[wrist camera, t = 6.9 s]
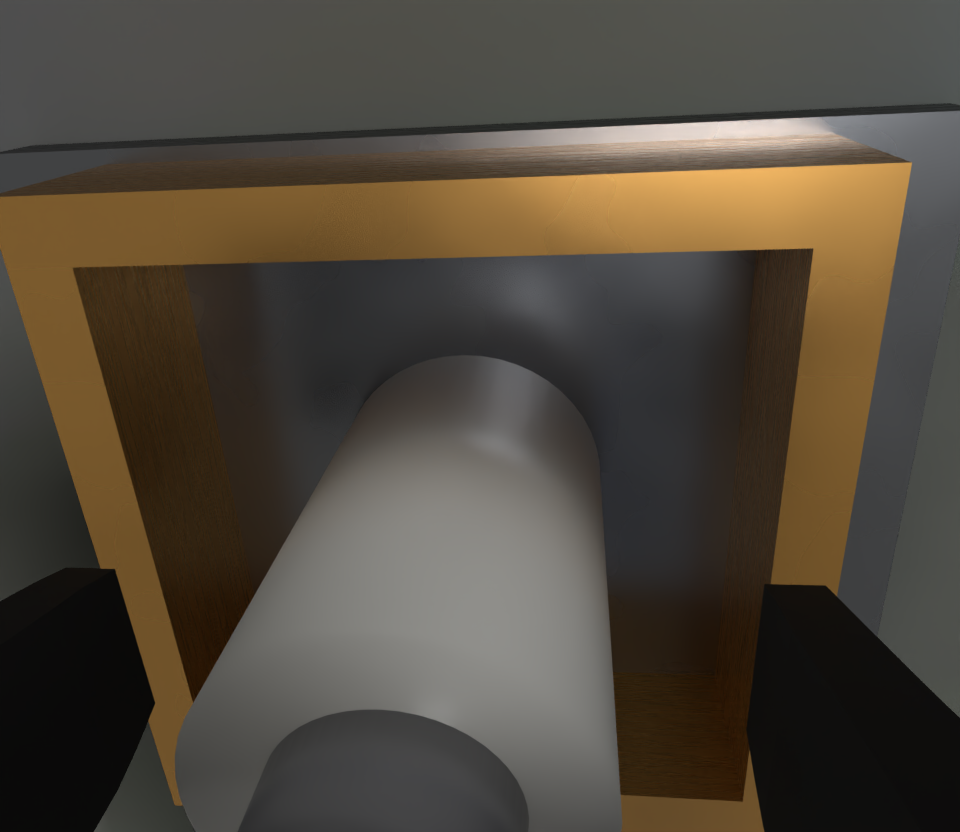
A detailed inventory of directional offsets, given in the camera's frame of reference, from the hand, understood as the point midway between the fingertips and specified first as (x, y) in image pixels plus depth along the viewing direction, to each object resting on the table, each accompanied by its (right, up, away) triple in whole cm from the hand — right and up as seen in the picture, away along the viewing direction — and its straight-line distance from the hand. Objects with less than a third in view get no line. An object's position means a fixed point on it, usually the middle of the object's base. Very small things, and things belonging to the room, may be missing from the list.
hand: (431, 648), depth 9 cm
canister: (0, +2, +4) cm, 4 cm away
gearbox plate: (+1, -2, +7) cm, 7 cm away
